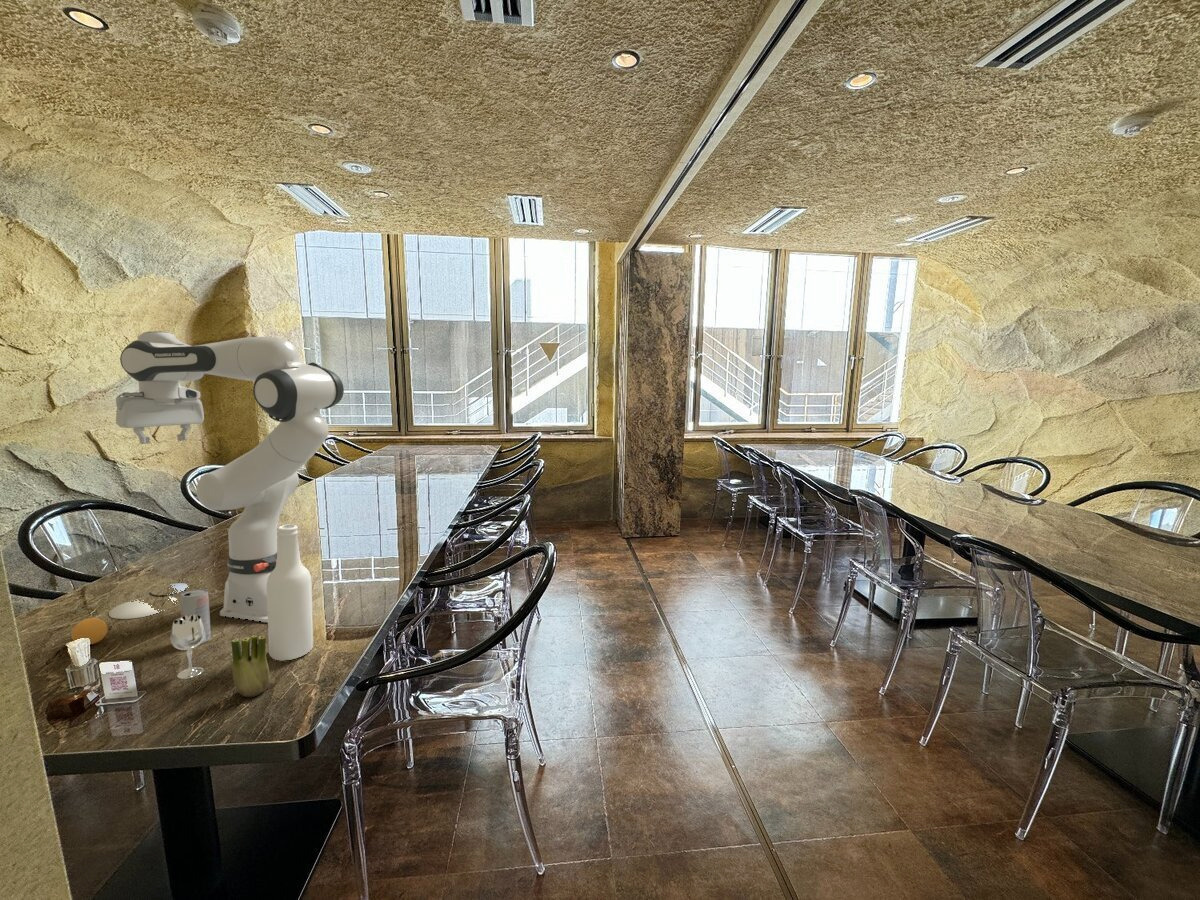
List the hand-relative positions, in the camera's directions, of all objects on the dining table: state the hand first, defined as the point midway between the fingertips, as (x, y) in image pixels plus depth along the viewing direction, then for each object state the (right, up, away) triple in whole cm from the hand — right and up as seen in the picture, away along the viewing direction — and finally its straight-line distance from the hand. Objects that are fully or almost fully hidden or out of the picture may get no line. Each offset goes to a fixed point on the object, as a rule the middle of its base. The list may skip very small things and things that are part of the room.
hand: (164, 442), depth 147 cm
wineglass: (+34, -50, -34) cm, 70 cm away
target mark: (-1, -44, -6) cm, 45 cm away
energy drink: (+25, -48, -21) cm, 58 cm away
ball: (+4, -44, -25) cm, 51 cm away
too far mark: (-3, -43, +6) cm, 43 cm away
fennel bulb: (+51, -51, -40) cm, 83 cm away
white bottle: (+50, -49, -25) cm, 74 cm away
